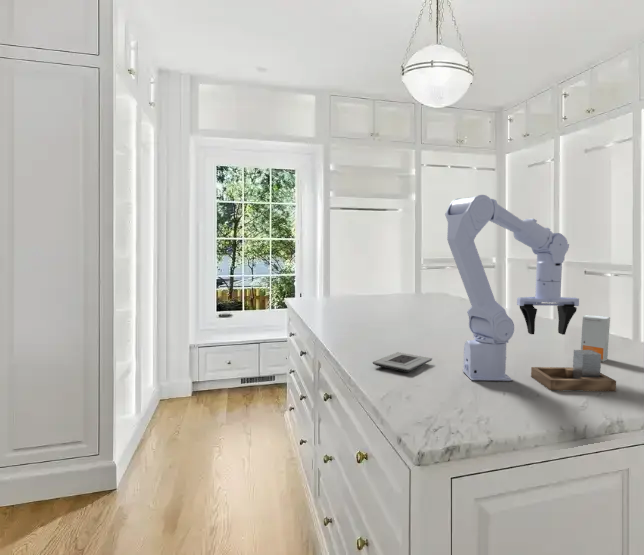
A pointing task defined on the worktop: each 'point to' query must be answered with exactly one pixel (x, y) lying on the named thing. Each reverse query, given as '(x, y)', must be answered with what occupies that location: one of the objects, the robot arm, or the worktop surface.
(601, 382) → the wooden tray
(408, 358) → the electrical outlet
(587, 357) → the metal peg
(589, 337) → the skincare box
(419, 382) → the worktop surface
